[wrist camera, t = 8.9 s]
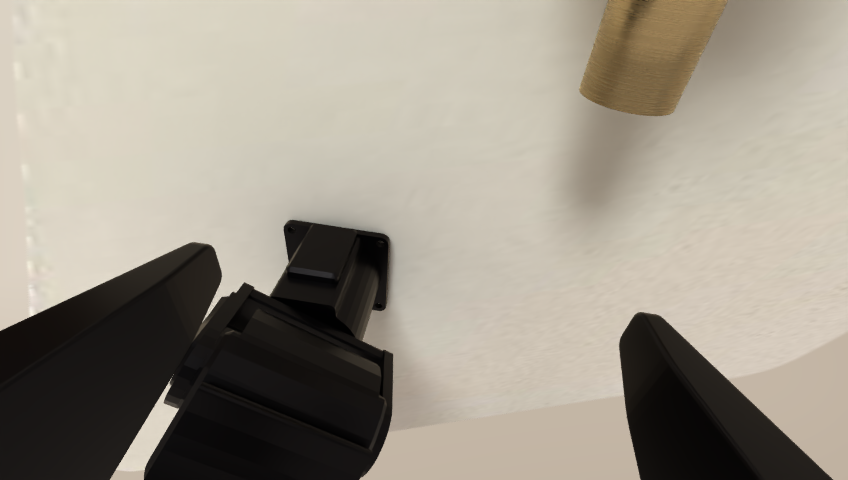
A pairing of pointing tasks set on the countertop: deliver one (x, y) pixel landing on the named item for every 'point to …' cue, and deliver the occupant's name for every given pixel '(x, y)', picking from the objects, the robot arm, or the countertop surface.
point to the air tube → (648, 53)
